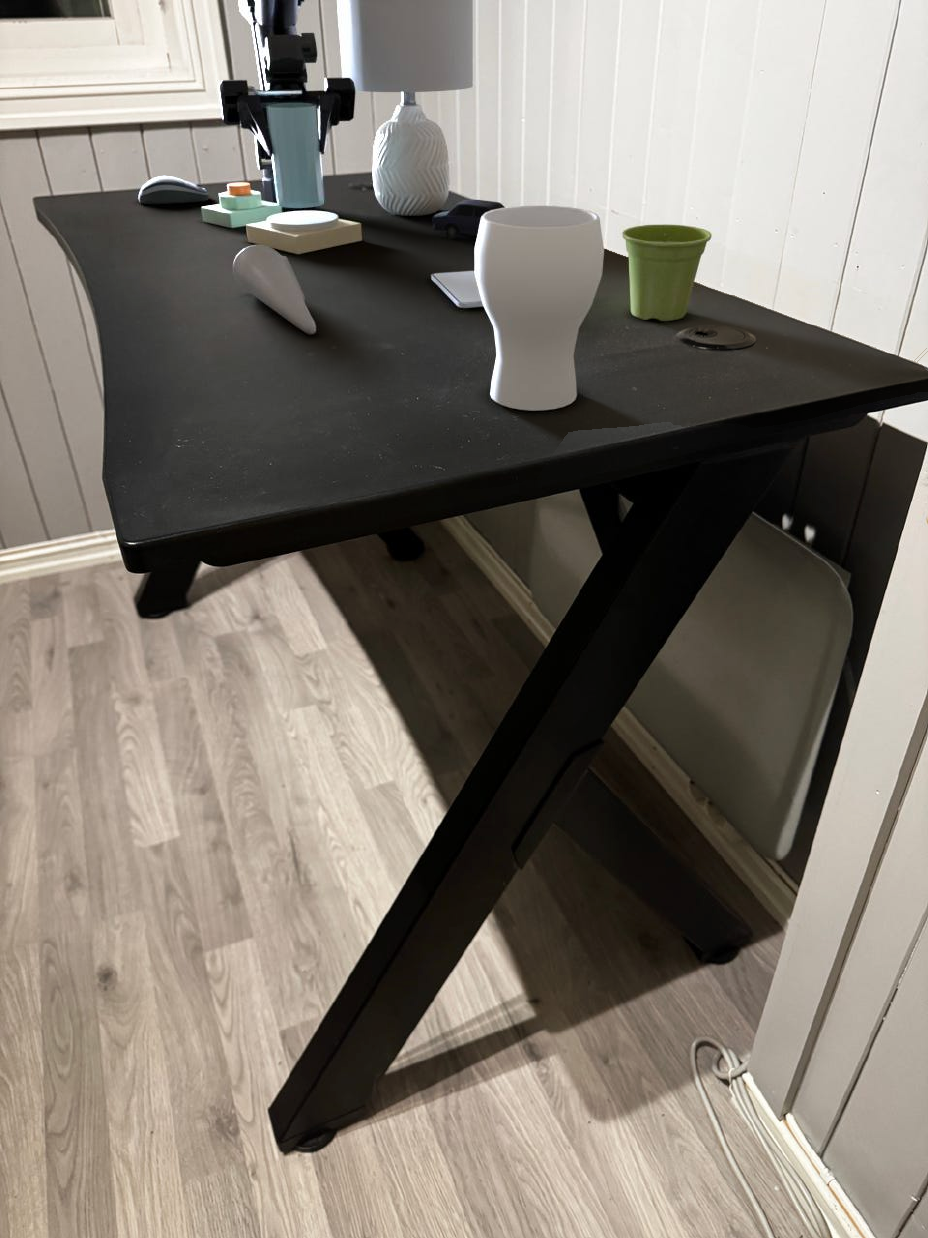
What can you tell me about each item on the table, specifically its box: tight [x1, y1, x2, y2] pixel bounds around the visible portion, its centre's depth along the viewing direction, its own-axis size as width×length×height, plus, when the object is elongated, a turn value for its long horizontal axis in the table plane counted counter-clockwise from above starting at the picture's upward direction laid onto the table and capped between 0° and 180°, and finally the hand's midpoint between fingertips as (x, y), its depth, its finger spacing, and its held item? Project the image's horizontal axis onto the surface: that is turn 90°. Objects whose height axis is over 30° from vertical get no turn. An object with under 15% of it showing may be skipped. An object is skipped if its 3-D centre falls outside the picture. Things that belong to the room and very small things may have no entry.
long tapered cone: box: [232, 244, 317, 335], centre depth 102 cm, size 6×6×19 cm
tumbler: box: [266, 103, 325, 209], centre depth 128 cm, size 7×7×12 cm
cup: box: [474, 204, 605, 412], centre depth 77 cm, size 11×11×15 cm
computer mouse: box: [138, 175, 210, 205], centre depth 161 cm, size 7×12×4 cm, turn 102°
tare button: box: [226, 182, 252, 196], centre depth 145 cm, size 4×4×2 cm
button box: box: [201, 189, 283, 229], centre depth 146 cm, size 10×8×4 cm
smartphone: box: [430, 269, 484, 309], centre depth 110 cm, size 7×1×15 cm
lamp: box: [336, 0, 474, 217], centre depth 142 cm, size 20×20×37 cm
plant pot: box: [621, 223, 713, 322], centre depth 99 cm, size 9×9×9 cm
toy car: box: [431, 199, 506, 240], centre depth 134 cm, size 6×15×5 cm, turn 61°
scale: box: [245, 210, 363, 255], centre depth 133 cm, size 12×12×3 cm
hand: (296, 153), depth 127 cm, fingers closed on tumbler, 7 cm apart
